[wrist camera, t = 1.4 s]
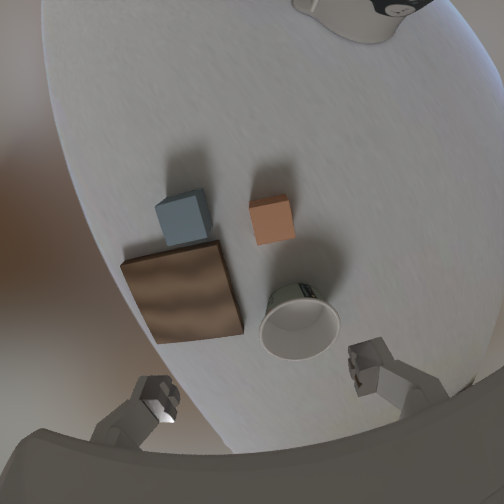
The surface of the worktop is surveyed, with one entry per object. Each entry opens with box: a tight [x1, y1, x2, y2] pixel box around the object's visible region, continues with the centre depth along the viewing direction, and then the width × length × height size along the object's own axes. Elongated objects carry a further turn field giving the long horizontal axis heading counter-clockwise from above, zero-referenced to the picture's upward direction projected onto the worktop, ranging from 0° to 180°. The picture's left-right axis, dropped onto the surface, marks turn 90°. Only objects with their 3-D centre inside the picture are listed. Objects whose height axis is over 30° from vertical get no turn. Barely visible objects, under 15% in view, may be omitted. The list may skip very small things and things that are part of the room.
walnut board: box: [120, 240, 244, 344], centre depth 42 cm, size 16×16×2 cm
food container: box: [259, 283, 340, 361], centre depth 41 cm, size 12×12×6 cm
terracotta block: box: [249, 194, 296, 245], centre depth 36 cm, size 5×5×4 cm
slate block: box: [155, 188, 213, 246], centre depth 35 cm, size 6×6×5 cm
